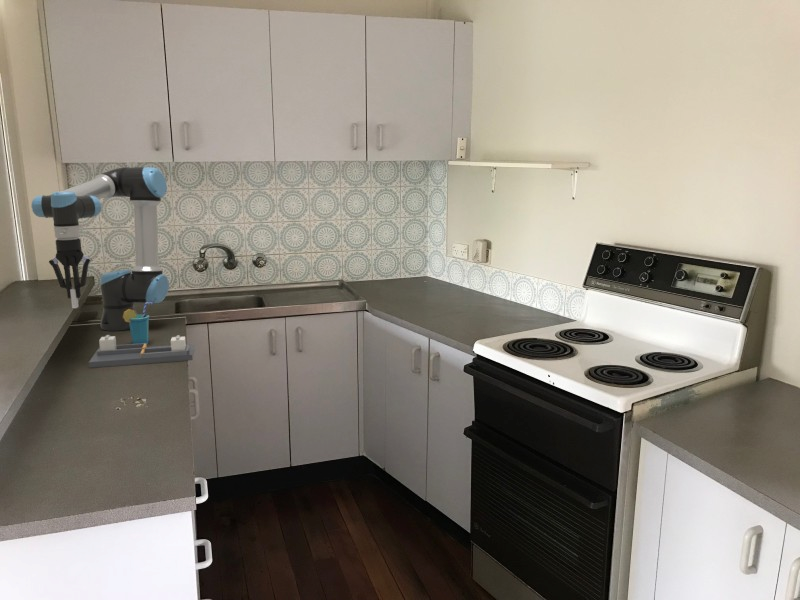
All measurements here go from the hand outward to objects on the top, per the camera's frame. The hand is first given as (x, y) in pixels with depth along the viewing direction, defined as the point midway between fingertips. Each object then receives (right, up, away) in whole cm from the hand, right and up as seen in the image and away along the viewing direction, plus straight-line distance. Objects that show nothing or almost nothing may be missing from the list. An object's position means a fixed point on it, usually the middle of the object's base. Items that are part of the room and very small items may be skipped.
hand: (75, 307), depth 229 cm
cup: (+14, -14, +24) cm, 31 cm away
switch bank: (+21, -18, +6) cm, 28 cm away
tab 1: (+9, -16, +6) cm, 19 cm away
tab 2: (+34, -16, +5) cm, 38 cm away
